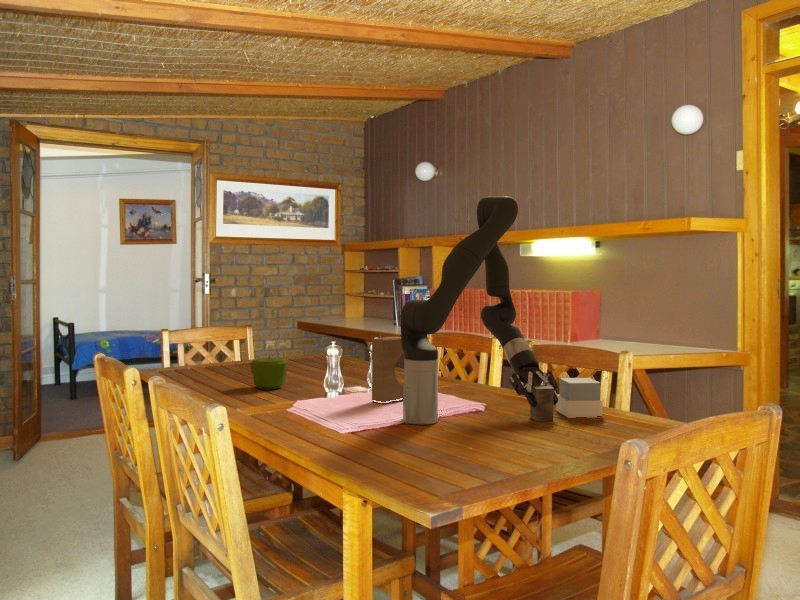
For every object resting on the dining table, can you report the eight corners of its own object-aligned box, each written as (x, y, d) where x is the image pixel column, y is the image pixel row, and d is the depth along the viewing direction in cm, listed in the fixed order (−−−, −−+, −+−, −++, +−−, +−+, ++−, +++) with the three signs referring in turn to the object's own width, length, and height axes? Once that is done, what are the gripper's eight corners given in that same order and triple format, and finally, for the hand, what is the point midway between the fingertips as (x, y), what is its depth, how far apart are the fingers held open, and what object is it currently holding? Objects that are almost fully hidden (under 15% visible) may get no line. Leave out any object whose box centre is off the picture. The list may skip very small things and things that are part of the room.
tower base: (567, 418, 190) (568, 401, 190) (556, 411, 200) (556, 394, 200) (602, 418, 191) (602, 400, 191) (588, 410, 201) (589, 394, 201)
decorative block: (395, 397, 220) (395, 336, 219) (408, 399, 216) (408, 337, 215) (370, 401, 212) (370, 338, 211) (383, 404, 208) (383, 339, 207)
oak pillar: (535, 421, 186) (535, 388, 185) (530, 417, 191) (530, 385, 190) (553, 420, 186) (553, 388, 186) (547, 416, 191) (547, 385, 191)
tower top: (569, 400, 191) (569, 383, 190) (559, 394, 200) (559, 378, 199) (600, 400, 191) (600, 382, 191) (589, 394, 200) (589, 377, 200)
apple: (292, 385, 241) (292, 354, 241) (278, 391, 230) (278, 358, 229) (260, 384, 244) (260, 353, 244) (245, 390, 232) (244, 357, 232)
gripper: (505, 350, 191) (530, 398, 181) (546, 347, 197) (572, 394, 187) (494, 366, 196) (518, 414, 186) (535, 363, 202) (560, 410, 192)
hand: (545, 404), depth 187 cm, fingers closed on oak pillar, 6 cm apart
